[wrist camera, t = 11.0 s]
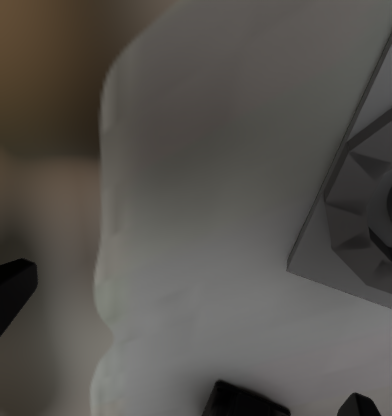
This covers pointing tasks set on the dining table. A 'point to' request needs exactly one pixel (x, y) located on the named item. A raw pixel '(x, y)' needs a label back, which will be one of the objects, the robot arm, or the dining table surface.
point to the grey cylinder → (389, 204)
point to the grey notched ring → (355, 203)
